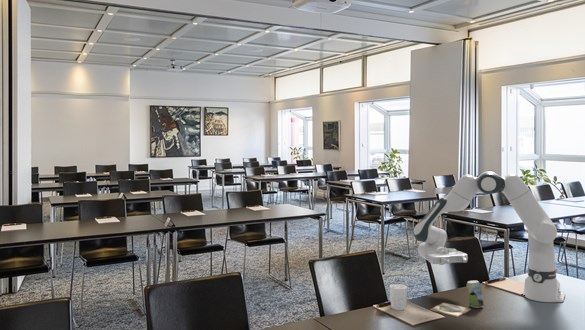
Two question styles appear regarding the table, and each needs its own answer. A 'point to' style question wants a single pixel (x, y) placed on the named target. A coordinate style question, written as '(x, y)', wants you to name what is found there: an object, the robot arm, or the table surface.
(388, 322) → the table surface
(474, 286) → the beverage can
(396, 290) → the white cup
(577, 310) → the table surface
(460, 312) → the birch mat
